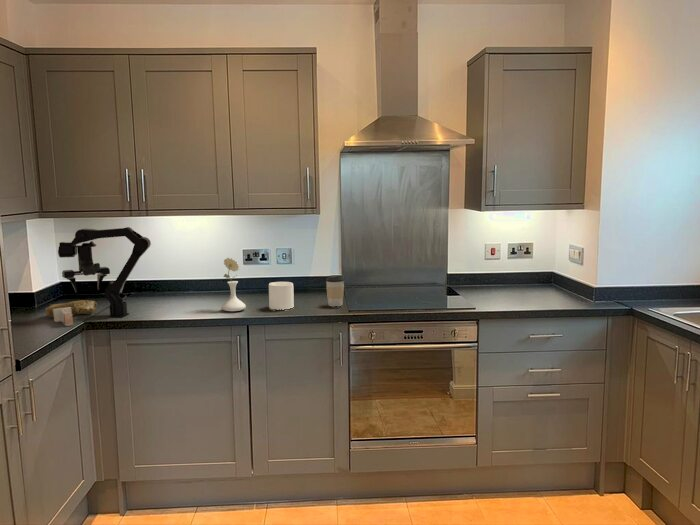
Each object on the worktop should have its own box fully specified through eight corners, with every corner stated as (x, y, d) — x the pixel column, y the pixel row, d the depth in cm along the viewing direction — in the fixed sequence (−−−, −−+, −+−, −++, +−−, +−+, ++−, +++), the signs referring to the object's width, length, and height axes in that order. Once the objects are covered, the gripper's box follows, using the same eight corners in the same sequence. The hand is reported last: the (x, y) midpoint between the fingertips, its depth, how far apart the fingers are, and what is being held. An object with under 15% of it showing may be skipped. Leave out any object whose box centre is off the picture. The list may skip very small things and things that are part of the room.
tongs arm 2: (73, 325, 234) (72, 313, 233) (69, 325, 233) (68, 314, 233) (67, 319, 244) (66, 308, 243) (63, 320, 243) (63, 309, 242)
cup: (289, 311, 259) (288, 286, 257) (265, 310, 261) (265, 285, 260) (296, 305, 270) (296, 281, 269) (274, 305, 273) (273, 281, 271)
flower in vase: (250, 310, 261) (248, 258, 257) (228, 314, 253) (226, 260, 250) (236, 306, 271) (234, 255, 267) (215, 309, 263) (213, 257, 260)
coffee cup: (323, 304, 272) (322, 274, 270) (339, 303, 276) (339, 273, 274) (331, 308, 264) (330, 277, 262) (347, 306, 268) (347, 276, 266)
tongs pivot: (72, 319, 245) (71, 307, 245) (55, 322, 241) (54, 309, 240) (71, 318, 247) (70, 306, 246) (54, 320, 243) (53, 309, 242)
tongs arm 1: (69, 325, 233) (68, 314, 233) (65, 326, 232) (64, 314, 232) (63, 320, 243) (63, 309, 242) (60, 320, 242) (59, 309, 241)
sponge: (96, 313, 263) (50, 307, 257) (98, 298, 261) (52, 292, 255) (90, 325, 251) (42, 319, 245) (92, 309, 249) (44, 303, 243)
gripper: (65, 260, 234) (68, 296, 236) (112, 256, 245) (114, 291, 247) (60, 257, 243) (63, 292, 245) (105, 254, 254) (107, 287, 256)
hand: (87, 291), depth 248 cm, fingers open, 9 cm apart
